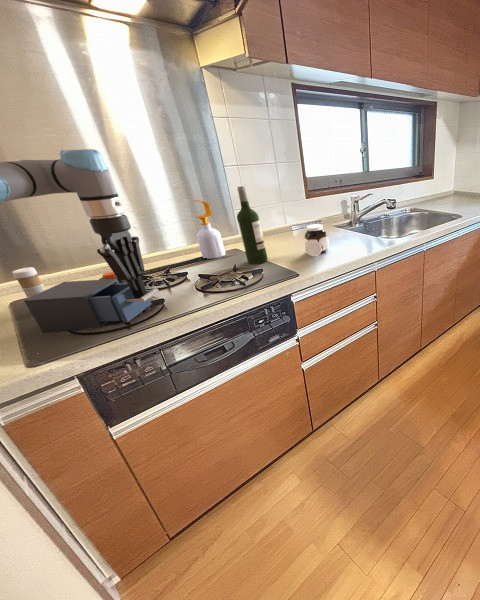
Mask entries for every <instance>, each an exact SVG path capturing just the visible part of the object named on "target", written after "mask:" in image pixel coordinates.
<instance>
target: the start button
mask: <svg viewBox="0 0 480 600" xmlns="http://www.w3.org/2000/svg"><path fill="white" fill-rule="evenodd" d="M101 275H102V277H103V278H104V279H114V278H117V277H116V275H115V274H114V272H113V271H108V272H105V273H102V274H101Z"/></svg>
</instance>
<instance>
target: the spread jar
mask: <svg viewBox="0 0 480 600" xmlns="http://www.w3.org/2000/svg"><path fill="white" fill-rule="evenodd" d="M303 240H304V246H305V247H304V250H305V252H306V254H307V255H308V256H310V257H317V256H319V255H320V254H324V253H326V252H327V251H328V249H329V247H330V242H329V235H328V233H327V232H326V231H325V230H324V226H323V224H319V223H318V224H317V223H314V224H309V225H307V226H306V232H305V233H304V236H303Z"/></svg>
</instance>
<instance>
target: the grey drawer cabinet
mask: <svg viewBox="0 0 480 600" xmlns="http://www.w3.org/2000/svg"><path fill="white" fill-rule="evenodd" d="M112 284H119V282H118V280H117V279H103V280H99V279H89V280H88V279H87V280H70V281H62V282H60V283H59V284H56V285H54V286H52V287H50V288H47V289H46V290H45V291H43V292H41V293H39V294H37V295H34V296H32V297H30V298H26V299H24V300H23V302H24V303H25V305H26V307H27V308H28V310H29V312H30V314H31V315H32V318H33V319H34V320H35V322H36V324H37V326H38V327H39V329H40V331H41V332H42V333H50V332H52V333H53V332H63V331H65V332H66V331H74V330H73V329H80V330H90V329H89V328H93V329H101V328H103V327H104V326H105V325H106V323H107V322H100V321H99V319H98V317H97V315H96V313H95V311H94V309H93V307H92V305H91V303H90V301H89V299H88V298H89V297H90V296H92V295H94V294H96V293H98V292H99V291H101V290H103V289H105V288H106V287H108V286H110V285H112ZM108 323H110V322H109V321H108ZM108 323H107V324H108ZM100 327H101V328H100Z"/></svg>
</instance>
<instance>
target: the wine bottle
mask: <svg viewBox="0 0 480 600" xmlns="http://www.w3.org/2000/svg"><path fill="white" fill-rule="evenodd" d="M236 189H237V193H238V197H239V203H240V210H239V211H238V213H237V215H236V220H237V224H238V228H239V232H240V236H241V240H242V244H243V249H244V252H245V257H246V260H247V263H248V264H250V265H260V264H263V263H266V262H268V253H267V249H266V245H265V239H264V235H263V231H262V225H261V221H260V217H259V214H258V212H256V211H255V210H254V209H252V208H251V206H250V203H249V198H248V194H247V192H246V187H245V186H244V185H243V186H237V188H236Z"/></svg>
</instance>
